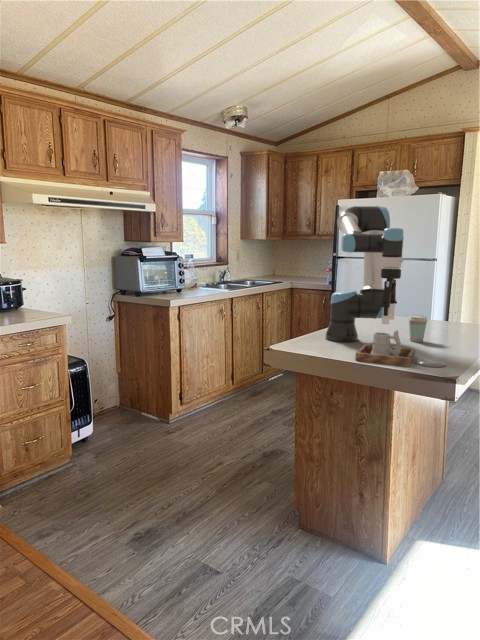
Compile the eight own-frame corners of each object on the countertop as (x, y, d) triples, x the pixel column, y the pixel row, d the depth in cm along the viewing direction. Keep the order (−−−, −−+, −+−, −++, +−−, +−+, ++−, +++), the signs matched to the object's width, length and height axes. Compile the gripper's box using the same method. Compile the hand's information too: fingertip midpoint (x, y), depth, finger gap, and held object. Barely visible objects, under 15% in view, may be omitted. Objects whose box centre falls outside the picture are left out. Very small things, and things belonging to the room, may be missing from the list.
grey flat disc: (413, 365, 184) (413, 363, 183) (416, 359, 193) (416, 357, 193) (444, 368, 179) (445, 367, 179) (446, 362, 189) (446, 360, 189)
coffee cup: (427, 343, 224) (429, 318, 222) (408, 342, 226) (410, 317, 224) (424, 339, 233) (426, 315, 231) (405, 338, 234) (407, 314, 232)
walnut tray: (355, 360, 190) (355, 352, 190) (364, 351, 207) (364, 344, 206) (409, 366, 182) (410, 358, 181) (414, 356, 198) (414, 349, 198)
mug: (373, 354, 200) (375, 326, 199) (402, 358, 194) (404, 329, 192) (368, 358, 194) (369, 329, 192) (397, 362, 188) (399, 332, 186)
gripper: (397, 269, 176) (393, 326, 179) (404, 267, 198) (401, 318, 201) (376, 269, 179) (372, 325, 182) (386, 267, 201) (383, 317, 204)
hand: (387, 321), depth 191 cm, fingers open, 13 cm apart
